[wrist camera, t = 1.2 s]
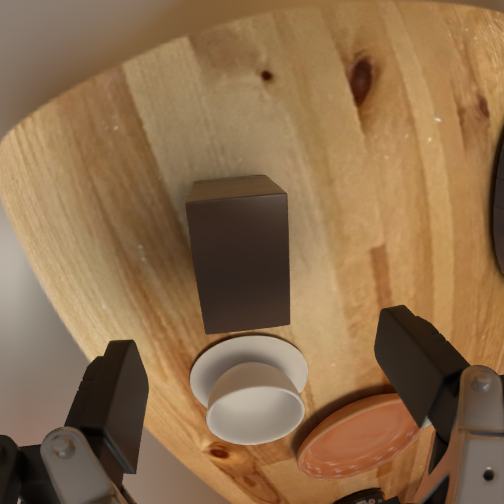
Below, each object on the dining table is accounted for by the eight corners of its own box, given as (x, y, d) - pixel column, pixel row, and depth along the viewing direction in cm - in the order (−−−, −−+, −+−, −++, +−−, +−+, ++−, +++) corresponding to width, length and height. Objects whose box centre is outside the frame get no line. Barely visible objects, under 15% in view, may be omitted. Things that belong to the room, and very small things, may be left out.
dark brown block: (193, 181, 19) (184, 202, 13) (266, 174, 19) (287, 192, 14) (206, 283, 21) (205, 335, 16) (271, 276, 22) (290, 325, 16)
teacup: (216, 315, 23) (218, 357, 18) (328, 350, 25) (346, 388, 21) (175, 399, 25) (172, 439, 21) (273, 421, 28) (281, 458, 24)
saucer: (284, 471, 33) (288, 489, 30) (305, 392, 27) (313, 416, 24) (392, 449, 35) (399, 464, 32) (437, 369, 29) (450, 386, 26)
